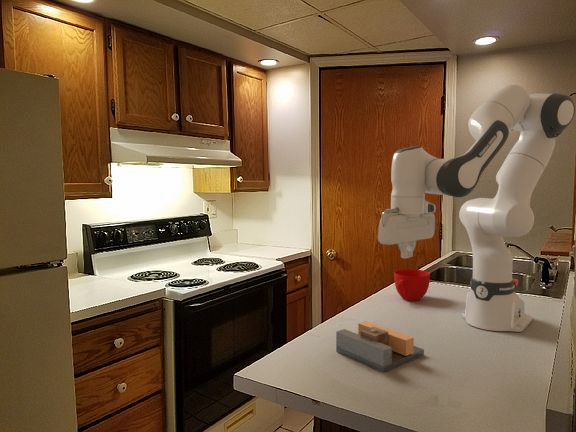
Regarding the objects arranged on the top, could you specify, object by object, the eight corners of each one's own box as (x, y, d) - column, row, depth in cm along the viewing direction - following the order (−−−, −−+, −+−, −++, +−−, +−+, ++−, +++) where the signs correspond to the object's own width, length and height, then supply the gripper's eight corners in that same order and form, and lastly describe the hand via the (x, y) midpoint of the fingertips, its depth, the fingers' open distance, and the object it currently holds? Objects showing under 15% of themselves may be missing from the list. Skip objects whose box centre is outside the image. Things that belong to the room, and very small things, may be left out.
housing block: (373, 344, 116) (373, 325, 115) (388, 350, 112) (388, 330, 111) (360, 349, 113) (360, 329, 112) (375, 355, 109) (375, 335, 108)
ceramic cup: (382, 302, 159) (382, 275, 158) (403, 292, 172) (403, 267, 171) (416, 308, 151) (416, 280, 150) (435, 297, 164) (435, 271, 163)
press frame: (376, 337, 125) (376, 318, 124) (423, 355, 112) (424, 334, 112) (336, 351, 115) (336, 331, 115) (383, 372, 103) (383, 350, 102)
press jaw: (365, 334, 122) (365, 321, 122) (413, 352, 109) (413, 337, 109) (358, 337, 120) (358, 323, 120) (405, 356, 108) (406, 340, 107)
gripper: (392, 210, 108) (391, 264, 109) (439, 205, 120) (438, 254, 122) (372, 208, 113) (372, 260, 114) (420, 204, 125) (419, 251, 127)
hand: (406, 257), depth 118 cm, fingers closed
